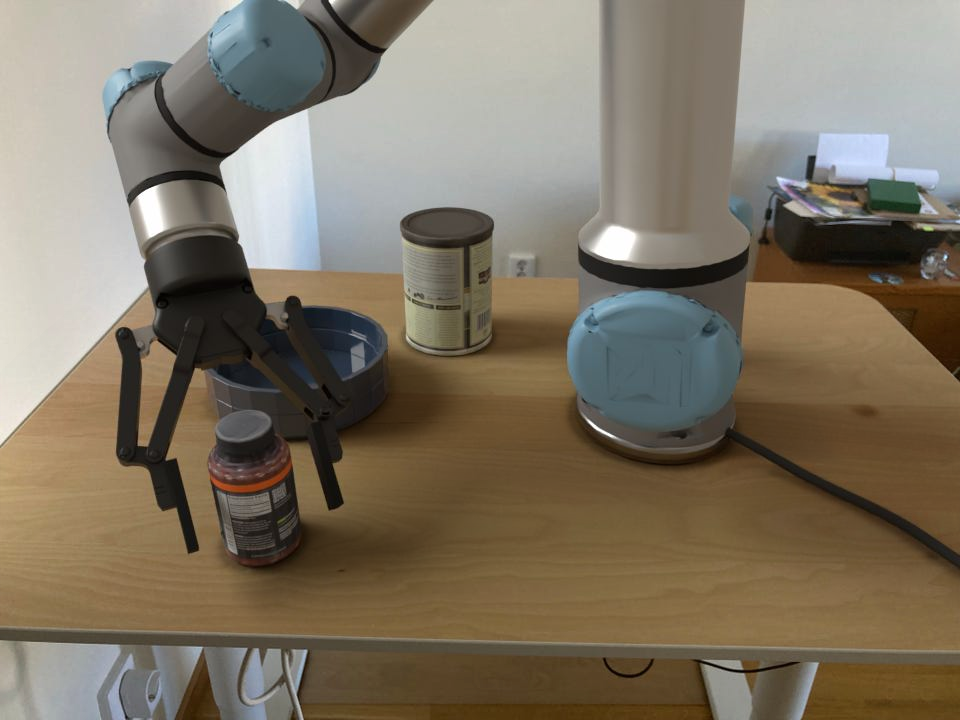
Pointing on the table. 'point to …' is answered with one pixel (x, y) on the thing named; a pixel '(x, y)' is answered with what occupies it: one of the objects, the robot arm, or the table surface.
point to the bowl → (347, 345)
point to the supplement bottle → (254, 489)
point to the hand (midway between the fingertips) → (267, 528)
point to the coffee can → (447, 280)
